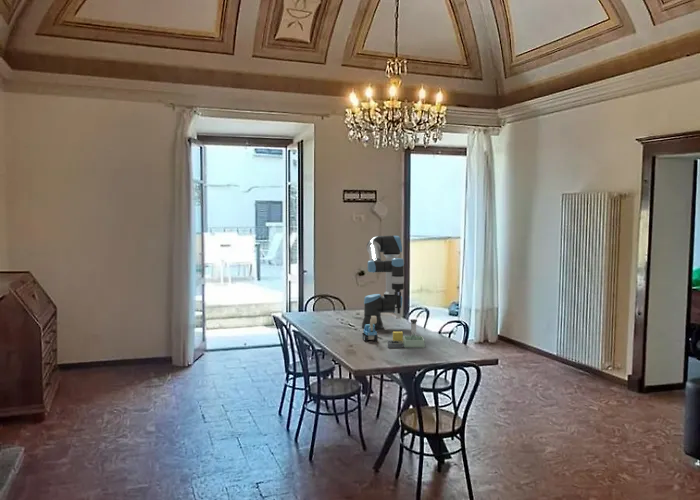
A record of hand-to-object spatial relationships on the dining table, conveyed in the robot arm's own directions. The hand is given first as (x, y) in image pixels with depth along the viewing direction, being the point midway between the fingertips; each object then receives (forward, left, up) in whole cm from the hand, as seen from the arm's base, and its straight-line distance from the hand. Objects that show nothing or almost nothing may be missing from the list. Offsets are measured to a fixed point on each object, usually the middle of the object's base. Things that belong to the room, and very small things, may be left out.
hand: (397, 316), depth 373 cm
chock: (0, 0, -16) cm, 16 cm away
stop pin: (+11, +9, -15) cm, 21 cm away
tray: (+11, +9, -16) cm, 21 cm away
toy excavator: (-2, -17, -16) cm, 24 cm away
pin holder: (+13, -3, -16) cm, 20 cm away
